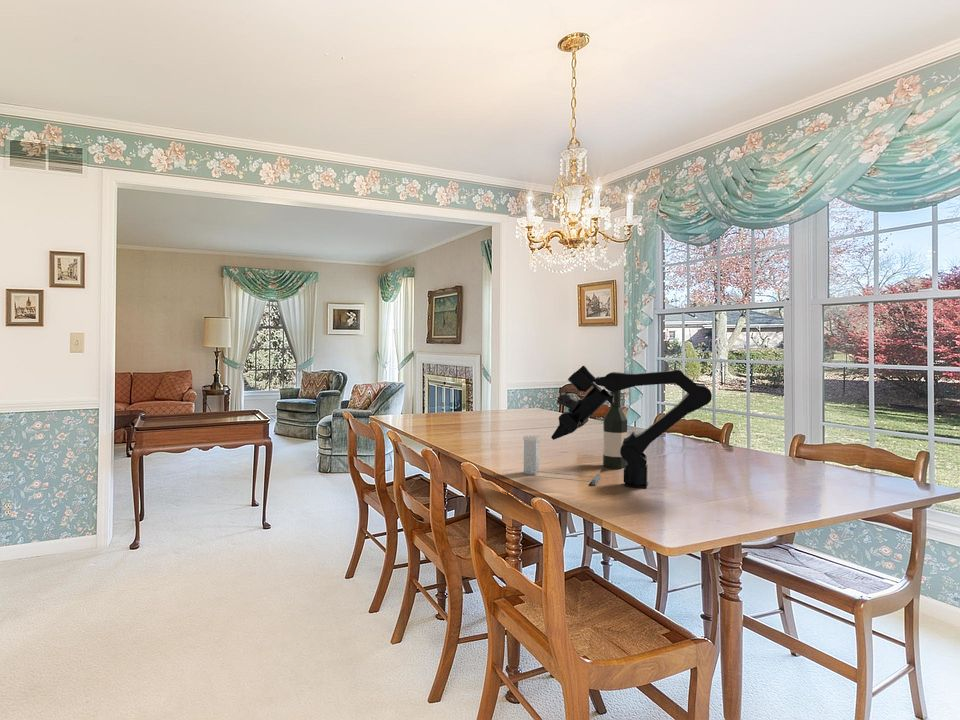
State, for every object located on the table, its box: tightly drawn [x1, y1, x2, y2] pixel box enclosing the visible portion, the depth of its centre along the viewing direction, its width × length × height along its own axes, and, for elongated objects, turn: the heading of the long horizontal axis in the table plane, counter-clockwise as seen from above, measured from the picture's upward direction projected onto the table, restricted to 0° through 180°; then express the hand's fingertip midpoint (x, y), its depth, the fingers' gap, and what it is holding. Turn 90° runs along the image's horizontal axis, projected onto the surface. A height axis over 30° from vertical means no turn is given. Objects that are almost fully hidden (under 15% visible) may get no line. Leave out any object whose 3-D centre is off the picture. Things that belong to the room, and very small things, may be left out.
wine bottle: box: [602, 390, 628, 470], centre depth 195 cm, size 8×8×30 cm
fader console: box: [526, 470, 601, 486], centre depth 177 cm, size 23×9×2 cm, turn 68°
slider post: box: [522, 434, 541, 476], centre depth 181 cm, size 4×4×12 cm
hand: (555, 436), depth 178 cm, fingers open, 9 cm apart
